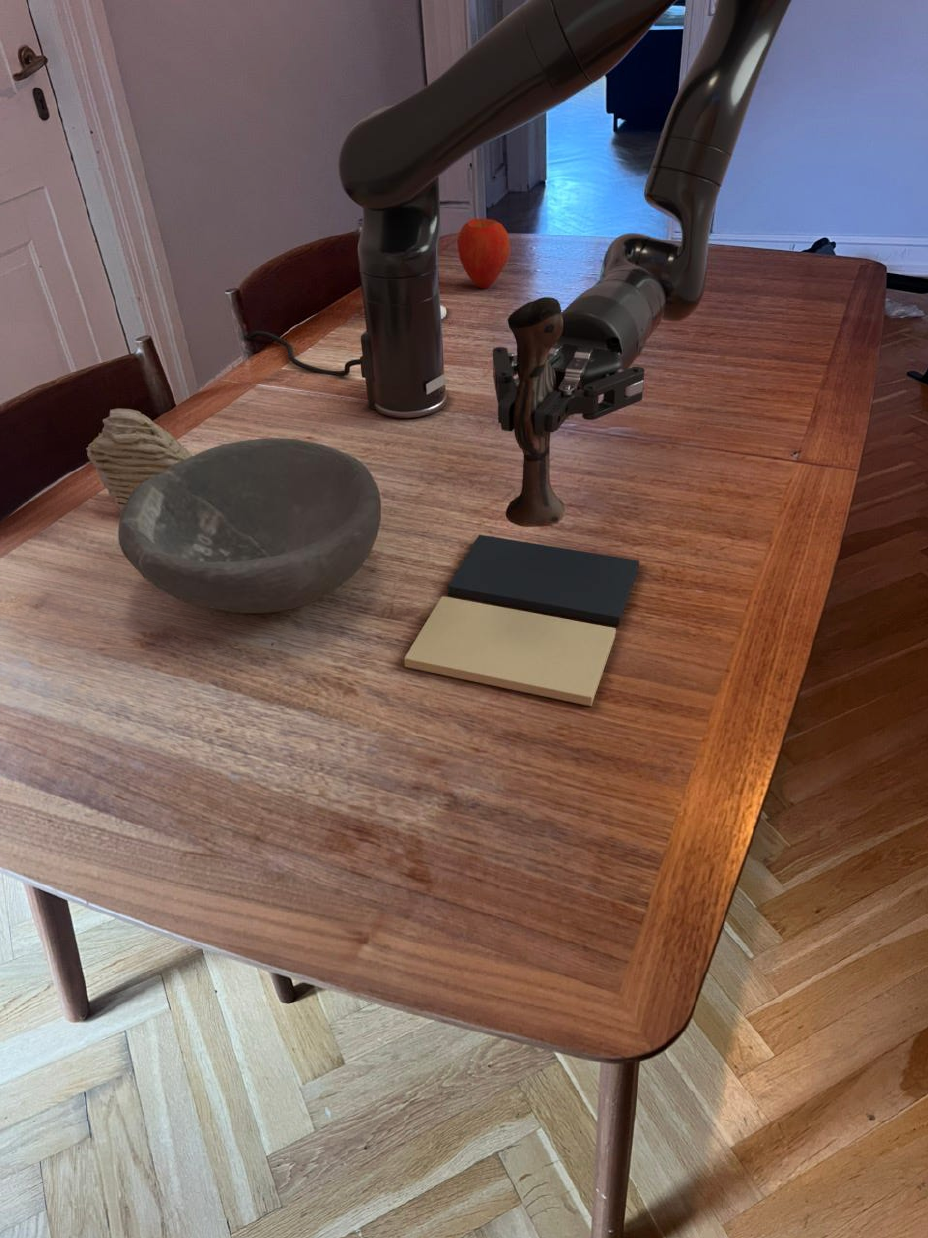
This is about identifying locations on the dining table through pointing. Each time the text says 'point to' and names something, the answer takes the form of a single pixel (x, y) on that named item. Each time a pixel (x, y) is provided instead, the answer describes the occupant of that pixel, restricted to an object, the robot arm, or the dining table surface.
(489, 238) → the apple
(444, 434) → the dining table surface
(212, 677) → the dining table surface
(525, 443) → the figurine
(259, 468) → the bowl
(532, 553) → the dark mat
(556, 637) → the cream mat
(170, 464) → the fossil tooth
